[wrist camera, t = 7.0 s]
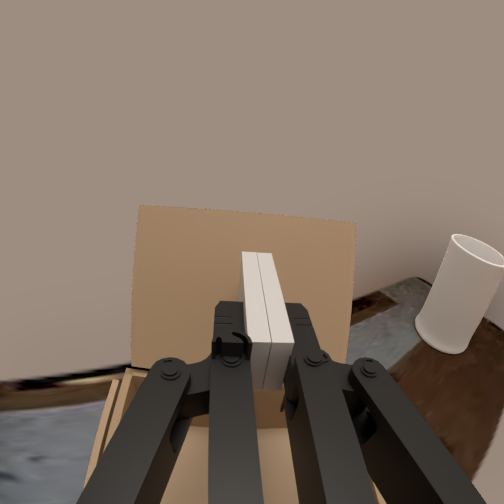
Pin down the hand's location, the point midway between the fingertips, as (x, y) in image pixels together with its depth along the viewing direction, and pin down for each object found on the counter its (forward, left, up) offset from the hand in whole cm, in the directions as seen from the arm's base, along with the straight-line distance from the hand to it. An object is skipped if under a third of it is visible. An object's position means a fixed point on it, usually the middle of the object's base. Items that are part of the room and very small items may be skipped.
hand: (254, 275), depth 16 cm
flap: (0, -2, -6) cm, 7 cm away
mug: (+28, +9, -12) cm, 32 cm away
